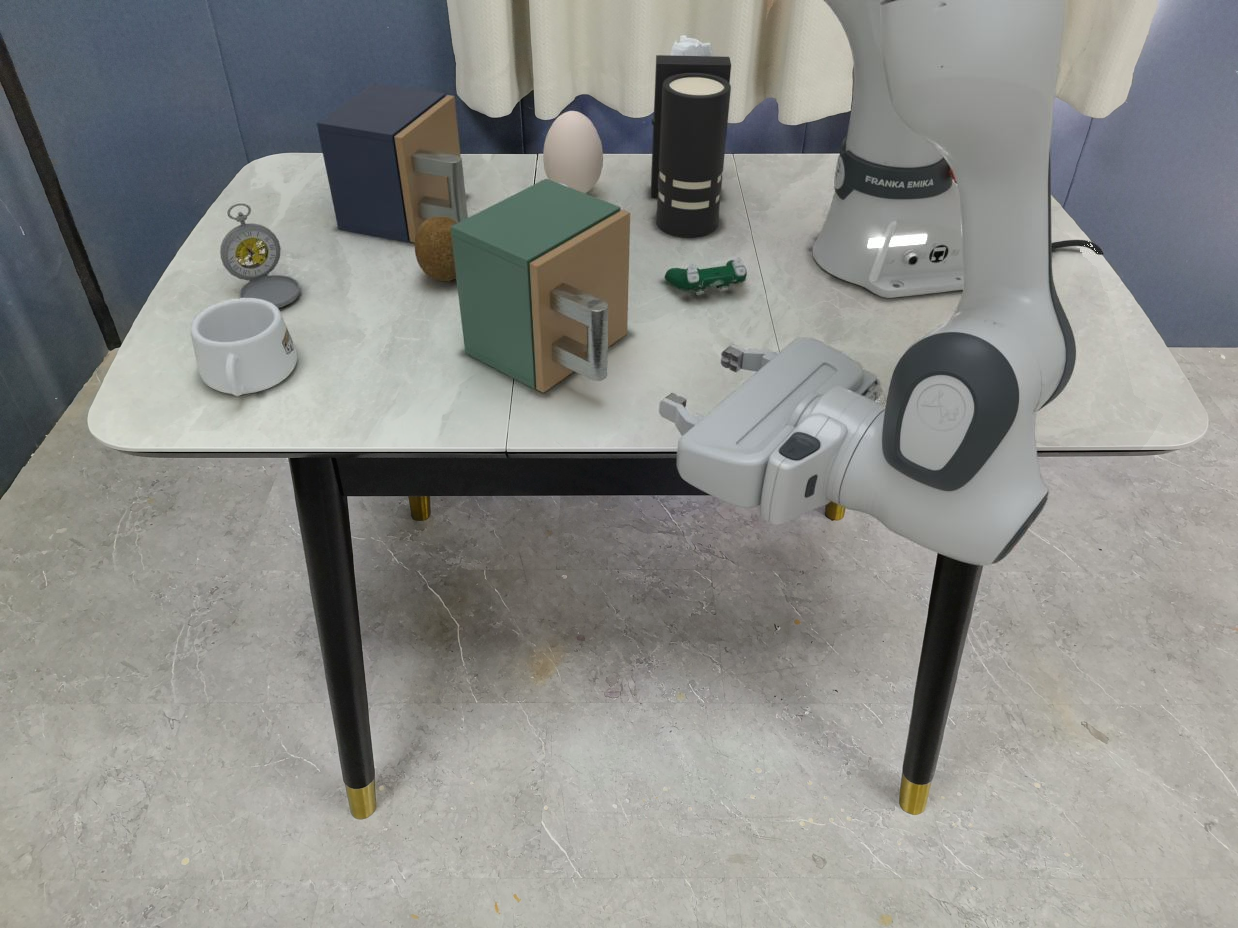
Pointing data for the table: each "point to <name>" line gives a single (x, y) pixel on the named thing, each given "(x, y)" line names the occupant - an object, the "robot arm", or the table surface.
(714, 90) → the light fixture
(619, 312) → the machine door
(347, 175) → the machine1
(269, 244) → the pocket watch
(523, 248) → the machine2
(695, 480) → the robot arm
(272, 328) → the mug
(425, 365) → the table surface
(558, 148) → the egg
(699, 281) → the gaming controller
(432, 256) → the fruit
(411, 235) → the machine door
